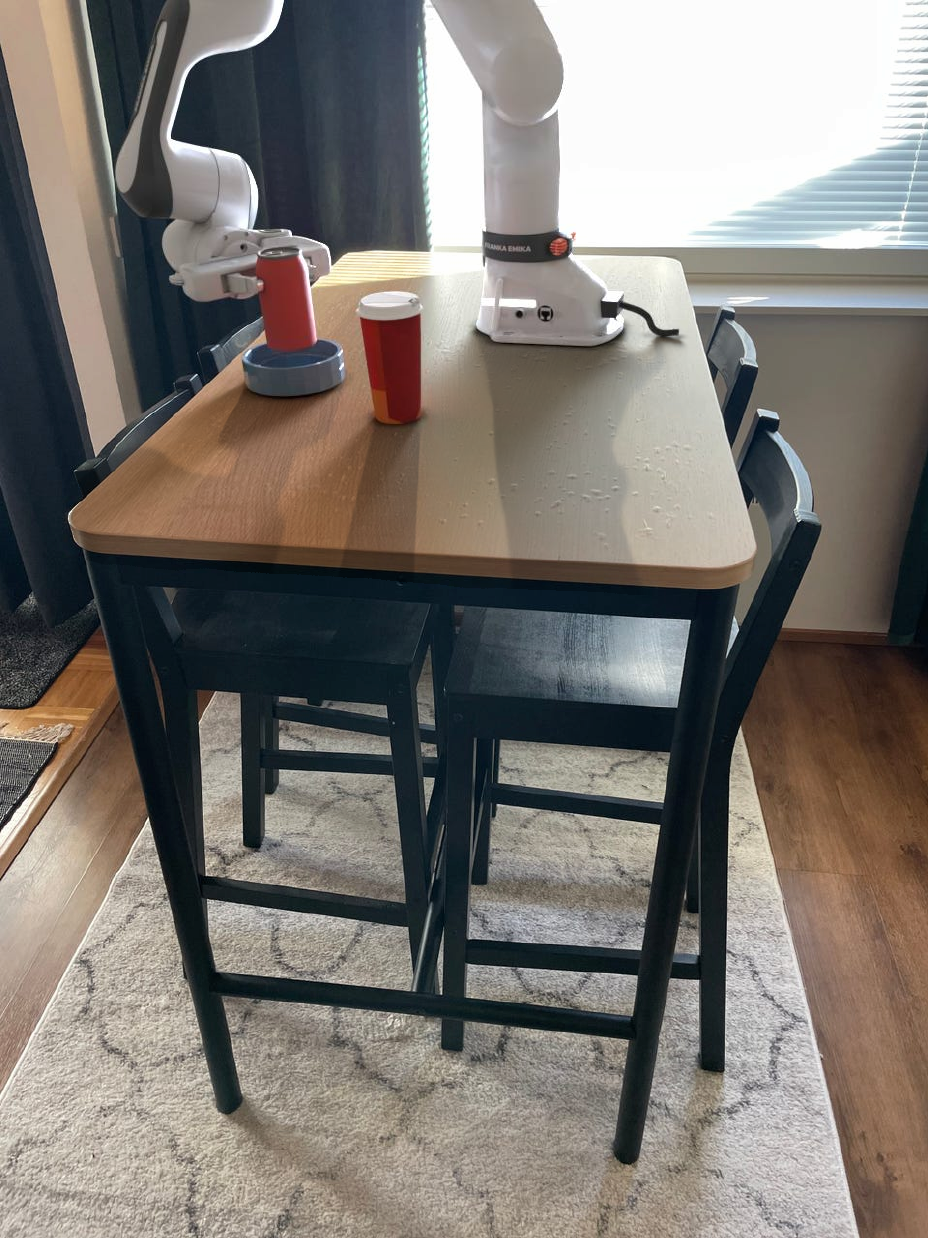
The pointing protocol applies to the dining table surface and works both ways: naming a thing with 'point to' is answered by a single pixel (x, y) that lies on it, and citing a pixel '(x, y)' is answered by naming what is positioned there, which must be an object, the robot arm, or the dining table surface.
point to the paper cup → (393, 354)
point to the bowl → (293, 369)
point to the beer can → (286, 300)
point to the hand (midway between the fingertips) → (286, 280)
